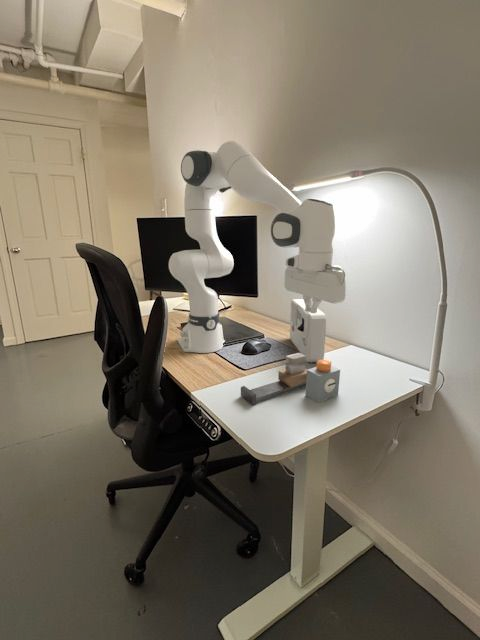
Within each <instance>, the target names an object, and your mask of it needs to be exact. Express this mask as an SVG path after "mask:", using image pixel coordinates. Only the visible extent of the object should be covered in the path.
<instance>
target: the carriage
mask: <svg viewBox="0 0 480 640" xmlns="http://www.w3.org/2000/svg"><path fill="white" fill-rule="evenodd" d="M308 369H309V368H306V359H305V355H303V354H301V353H300V352H296V353H292V354H289V355H286V356H285V368H283V369H280V370H278V374H277V375H278V376H277V377H278V380H277V381H282V382H283V383H285V384H286V385H288V386H290V387H293V386H296V385H300V384H303V383H306V377H307V370H308Z"/></svg>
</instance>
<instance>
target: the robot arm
mask: <svg viewBox="0 0 480 640" xmlns="http://www.w3.org/2000/svg"><path fill="white" fill-rule="evenodd" d="M180 173H181V176H182V178H183V180H184V182H185V183H186V184H185V189H184V199H183V200H184V203H183V204H184V207H183V208H184V225H185V232H186V233H187V235H188V236H189V237H190V238H191V239H193V240H196V241H197V242H198V243H199V247H200V249H187V250H186V249H185V250H180V251H178V252H173V253H172V255H171V256H170V257H169V260H168V270H169V273H170V274H171V276H172V277H173V278H174V279H175V280H177V281H179V282H180V283H181V285H182V286H183V287H184V289H185V291H186V293H187V296H188V302H189V313H188V319H187V321H188V323H187V322H186V323H187V324H186V325H184V326H183V327H182V331H180V337H178V338H177V343H178V344H179V346H180V347H181V350H182V351H183V352H184V353H197V354H198V353H199V354H207V353H214V352H217V351H220V350H222V349H223V347H224V345H223V343H224V342H225V341H226V340H225V339H224V333H223V326H222V324H221V323H220V317H221V316H220V313H219V301H218V300H219V297H218V293H217V292H216V291H215V289H212V288H211V287H208V286H206V284H205V279H212V278H221V277H224V276H227V275H230V274H231V273H232V271H233V269H234V265H235V263H234V261H235V260H234V258H233V257H234V256H233V255H232V254H231V252H230V251H229V250H228V249H227V248H226V247H224V245H223V244H222V242H221V241H220V239H219V238H220V237H219V236H218V231H217V226H216V225H217V224H216V207H215V197H216V196H215V195H216V193H217V192H218V191H219V193H222V194H223V193H225V192H226V191H228V190H231V189H232V190H233V191H234V192H235V194H237V195H239V196H240V197H241V198H243V199H245V200H249V201H253V202H258V203H262V204H266V205H270V206H272V207H274V208H275V209H276V210H278V211H279V213H278V214H276V216H275V217H274V218H273V220H272V222H271V225H270V236H271V240H272V242H273V243H274V244H275V245H276V246H278V247H281V248H284V249H285V248H298V254H297V255H293V256H291V257H288V258H286V259H285V266H286V268H285V271H284V288H285V290H286V291H289V292H292V293H296V294H298V295H302V299H303V300H304V303H305V311H307V312H310V313H316V312H317V308H318V307H319V306H320V304H321V302H322V301H324V302H328V303H331V304H334V305H335V304H336V305H337V304H340V303H343V302H344V301H345V299H346V290H347V289H346V272H345V270H344V269H343V268H342V267H341V266H339V265H332V264H333V254H334V248H333V240H334V238H335V234H336V233H335V232H336V231H335V230H336V208H335V207H336V206H335V204H334V203H333V202H332V201H331V200H328V199H323V198H317V197H308V198H305V199H303V201H301V200H300V199H298V198H297V197H296V195H294V194H293V193H292V192H291V190H289V189H288V188H287V187H286V186H285V185H284V184H282V183H281V182H280V181H279V180H278V179H277V177H274V176H273V174H272V173H270V172H269V171H268V170H267V168H266V167H264V165H263V164H262V163H261V162H260V161H259V160H258V159H257V158H256V157H255V156H254V154H253V153H251V152H250V150H249V149H247V148H246V147H245V146H243V145H242V144H240V143H239V142H237V141H234V140H229V141H226V142H224V143H222V144H221V145H220V146H219V148H218V149H217V151H216V152H215V151H214V152H213V151H207V150H199V149H198V150H192V151H188V152H186V153H185V154H184V156H183V158H182V160H181V164H180Z"/></svg>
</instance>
